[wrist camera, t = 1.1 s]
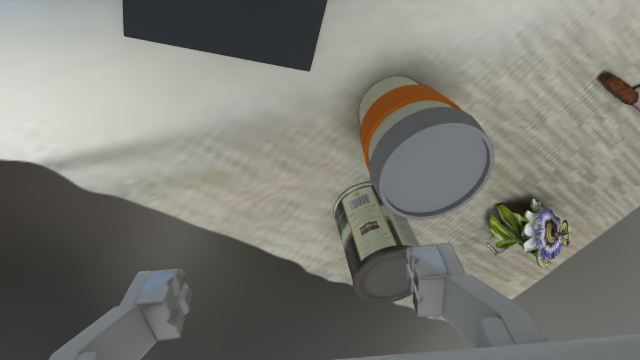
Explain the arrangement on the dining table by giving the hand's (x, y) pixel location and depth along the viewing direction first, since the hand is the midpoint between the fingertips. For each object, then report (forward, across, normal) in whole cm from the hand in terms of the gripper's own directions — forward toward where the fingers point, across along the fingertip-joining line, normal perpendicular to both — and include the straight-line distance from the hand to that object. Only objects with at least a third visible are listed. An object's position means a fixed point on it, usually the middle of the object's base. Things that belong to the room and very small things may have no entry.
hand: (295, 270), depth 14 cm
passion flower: (+44, -32, +34) cm, 64 cm away
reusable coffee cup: (+38, -10, +9) cm, 40 cm away
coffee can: (+40, -6, +26) cm, 47 cm away
